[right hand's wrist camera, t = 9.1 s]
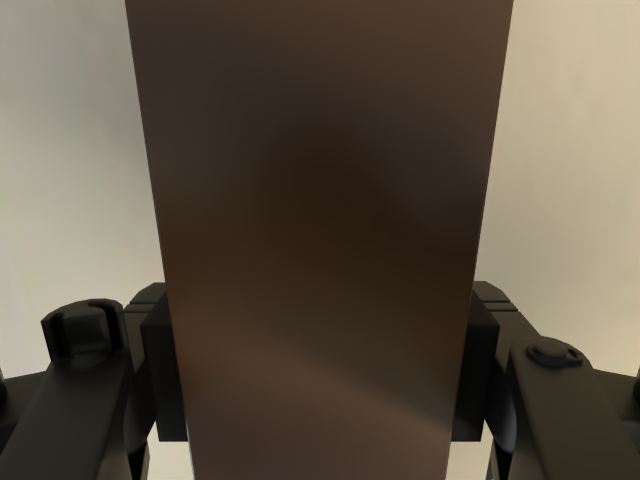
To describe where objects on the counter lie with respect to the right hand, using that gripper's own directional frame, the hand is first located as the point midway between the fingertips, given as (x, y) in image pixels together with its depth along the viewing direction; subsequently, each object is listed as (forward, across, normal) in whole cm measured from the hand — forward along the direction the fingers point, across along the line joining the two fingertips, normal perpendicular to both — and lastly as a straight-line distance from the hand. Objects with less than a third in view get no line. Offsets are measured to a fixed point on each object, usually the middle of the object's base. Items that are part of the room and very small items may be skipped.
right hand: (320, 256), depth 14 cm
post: (0, 0, -26) cm, 26 cm away
